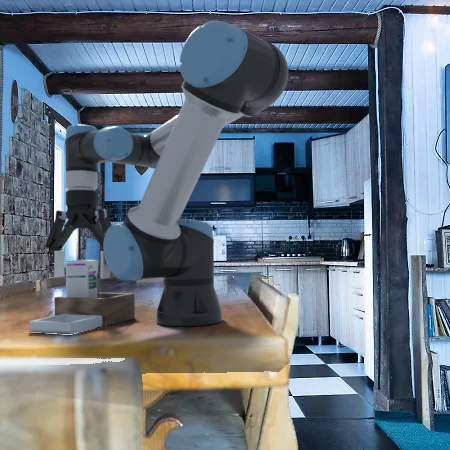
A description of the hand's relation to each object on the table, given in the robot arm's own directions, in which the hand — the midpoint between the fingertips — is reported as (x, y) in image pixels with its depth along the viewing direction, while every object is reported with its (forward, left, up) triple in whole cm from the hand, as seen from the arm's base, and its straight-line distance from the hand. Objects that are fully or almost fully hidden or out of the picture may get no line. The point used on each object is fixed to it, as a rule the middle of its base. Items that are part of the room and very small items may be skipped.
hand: (81, 277), depth 121 cm
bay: (-4, 0, -10) cm, 11 cm away
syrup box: (0, 0, -10) cm, 10 cm away
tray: (-6, +13, -10) cm, 17 cm away
